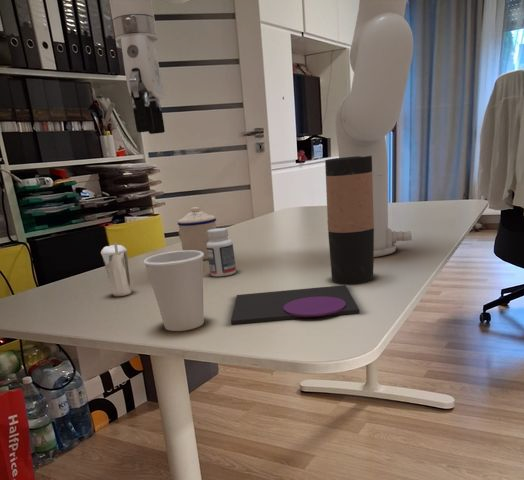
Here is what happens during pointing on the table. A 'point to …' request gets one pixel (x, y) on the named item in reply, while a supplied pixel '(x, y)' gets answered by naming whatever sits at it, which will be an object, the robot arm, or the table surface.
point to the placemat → (293, 304)
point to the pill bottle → (220, 253)
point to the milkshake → (117, 269)
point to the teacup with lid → (196, 230)
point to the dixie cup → (178, 288)
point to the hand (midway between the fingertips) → (151, 132)
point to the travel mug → (350, 218)
